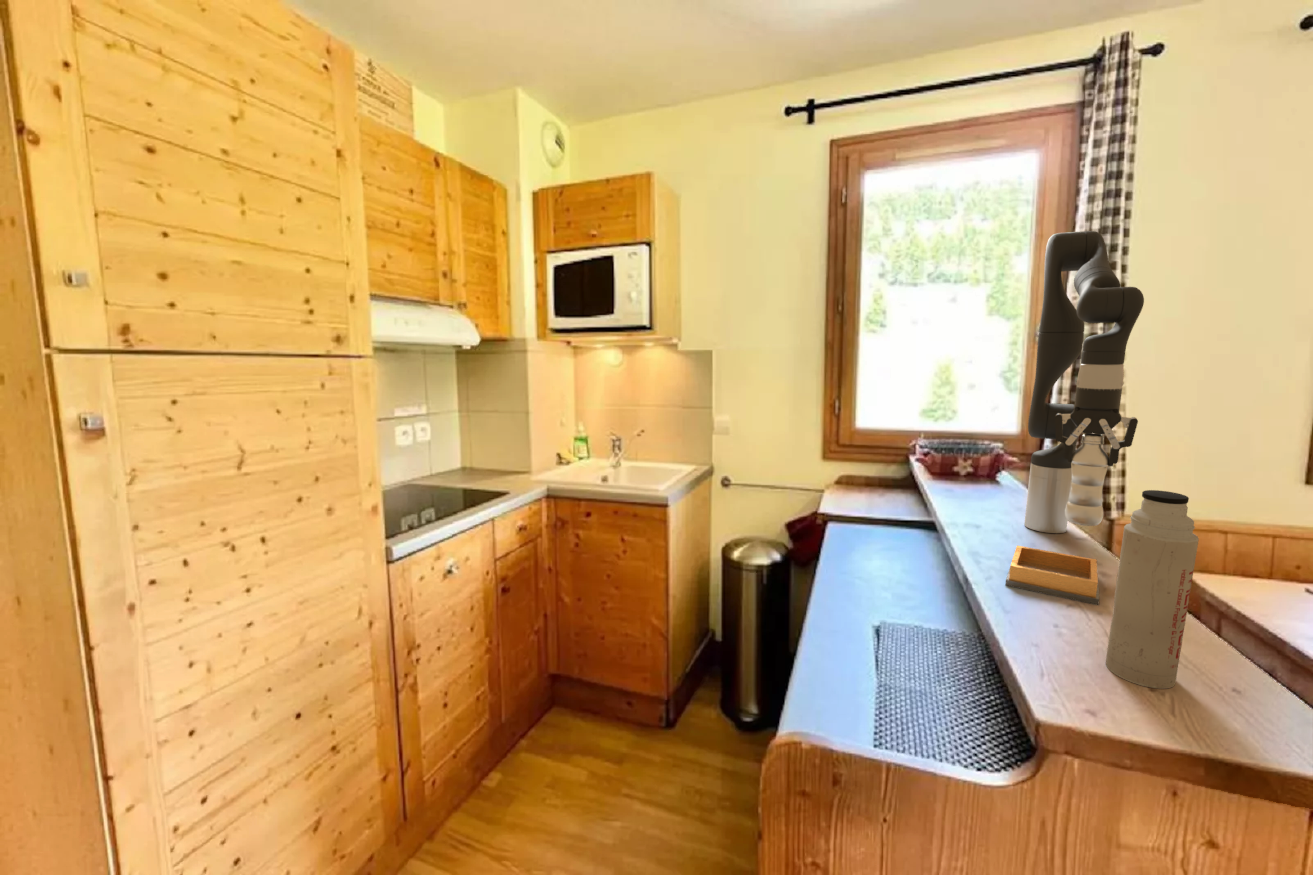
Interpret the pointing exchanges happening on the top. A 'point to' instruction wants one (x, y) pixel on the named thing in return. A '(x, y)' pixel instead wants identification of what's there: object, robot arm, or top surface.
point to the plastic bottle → (1087, 481)
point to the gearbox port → (1054, 574)
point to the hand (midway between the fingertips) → (1089, 463)
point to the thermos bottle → (1152, 591)
